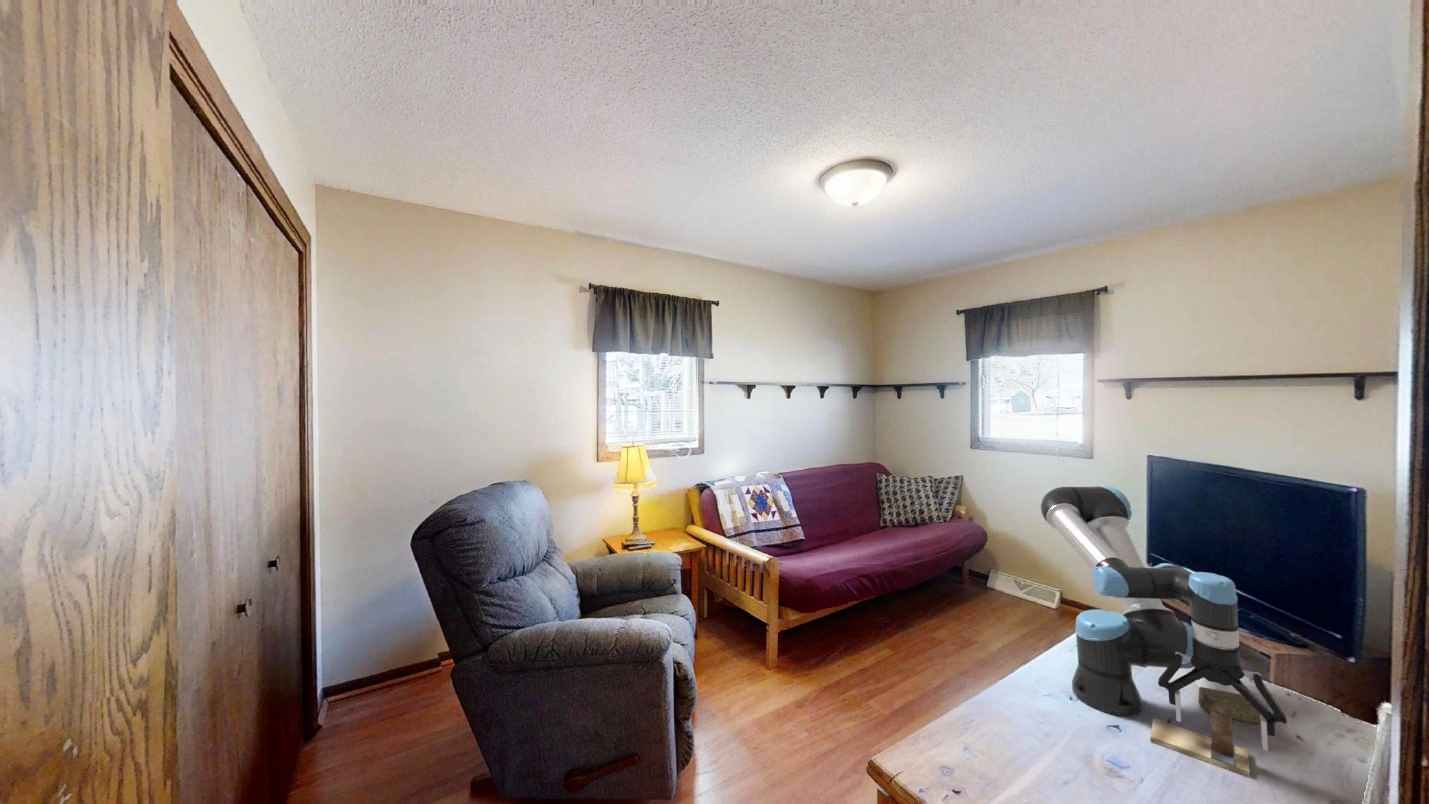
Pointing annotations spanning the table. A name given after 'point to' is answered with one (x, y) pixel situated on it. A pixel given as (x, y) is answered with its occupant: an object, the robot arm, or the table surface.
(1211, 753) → the flat metallic slab
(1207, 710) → the stone block
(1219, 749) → the brown wooden cylinder
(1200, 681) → the mug
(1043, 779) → the table surface
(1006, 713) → the table surface
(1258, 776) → the table surface
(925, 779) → the table surface
